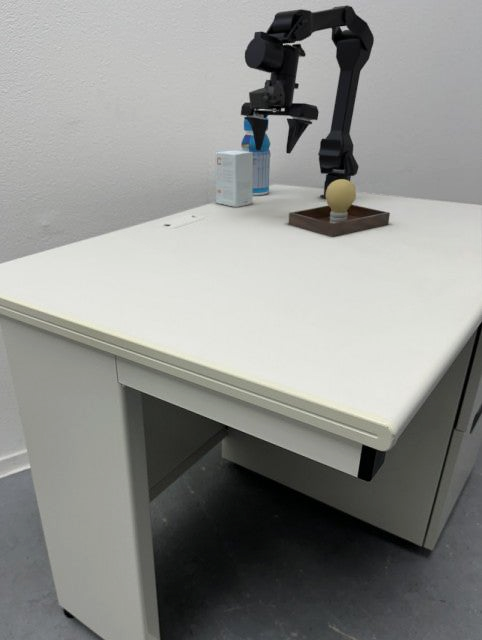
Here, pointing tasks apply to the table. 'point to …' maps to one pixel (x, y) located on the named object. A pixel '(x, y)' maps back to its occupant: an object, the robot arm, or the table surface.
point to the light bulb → (340, 199)
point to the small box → (234, 178)
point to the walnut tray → (355, 222)
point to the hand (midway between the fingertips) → (272, 152)
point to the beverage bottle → (258, 159)
